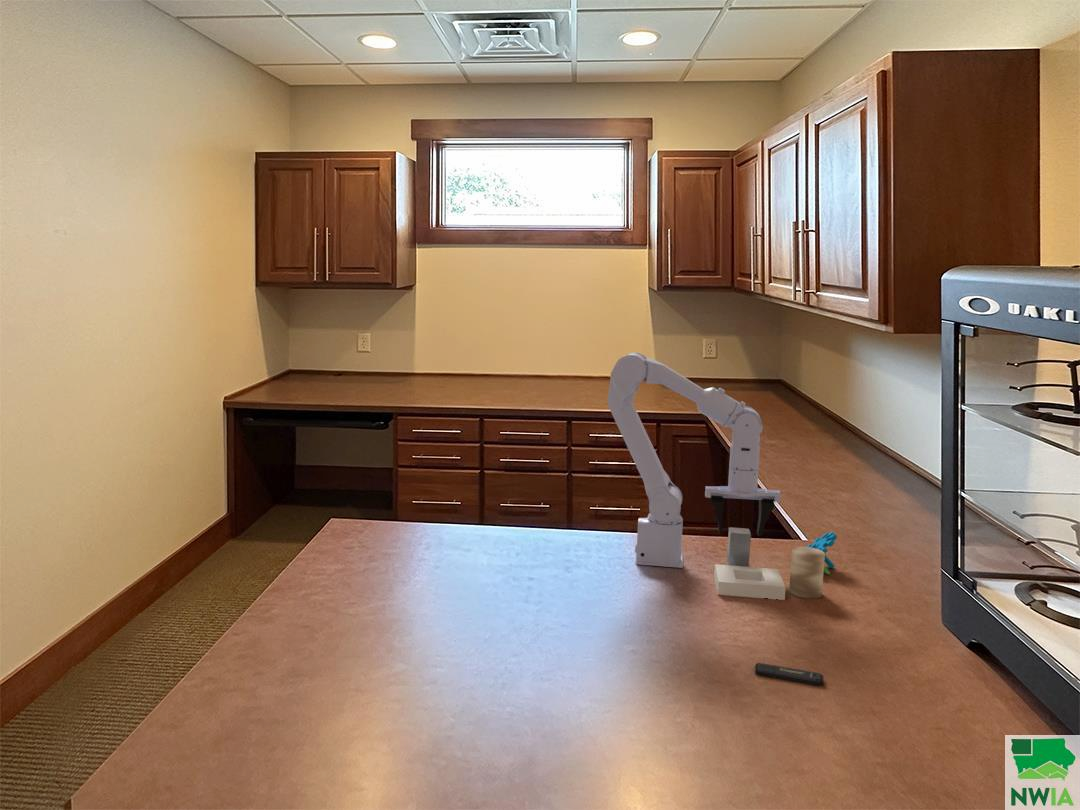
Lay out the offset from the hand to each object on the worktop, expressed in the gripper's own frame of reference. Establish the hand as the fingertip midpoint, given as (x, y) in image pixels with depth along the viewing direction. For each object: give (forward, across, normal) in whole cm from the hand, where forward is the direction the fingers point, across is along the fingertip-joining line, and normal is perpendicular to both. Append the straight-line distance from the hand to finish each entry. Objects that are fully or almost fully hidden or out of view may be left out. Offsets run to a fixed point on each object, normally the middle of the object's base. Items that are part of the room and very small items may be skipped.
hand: (739, 533), depth 159 cm
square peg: (+7, 0, 0) cm, 7 cm away
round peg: (+8, +11, -11) cm, 18 cm away
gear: (+8, +16, +5) cm, 19 cm away
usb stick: (+8, +3, -47) cm, 48 cm away
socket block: (+7, +1, -11) cm, 13 cm away
